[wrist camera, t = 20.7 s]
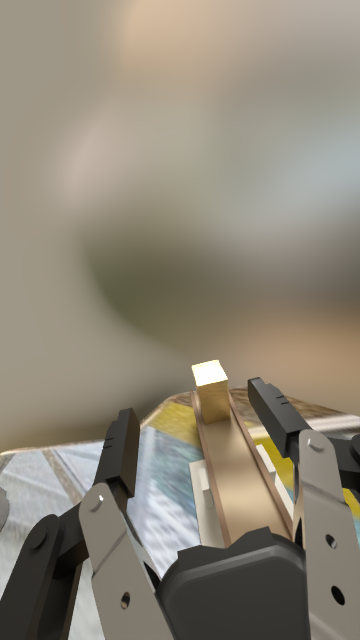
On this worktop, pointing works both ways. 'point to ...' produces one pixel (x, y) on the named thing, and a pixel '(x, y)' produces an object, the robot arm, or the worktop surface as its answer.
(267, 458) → the beam stand
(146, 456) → the worktop surface
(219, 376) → the block
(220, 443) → the balance beam
